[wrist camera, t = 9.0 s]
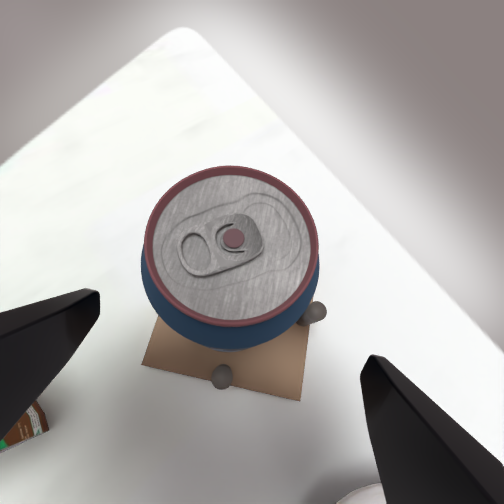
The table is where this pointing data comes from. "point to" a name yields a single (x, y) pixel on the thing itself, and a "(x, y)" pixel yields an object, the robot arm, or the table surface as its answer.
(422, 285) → the table surface
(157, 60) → the table surface
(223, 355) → the walnut cradle
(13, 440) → the food container
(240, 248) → the soda can
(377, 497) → the spoon rest
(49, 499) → the table surface
